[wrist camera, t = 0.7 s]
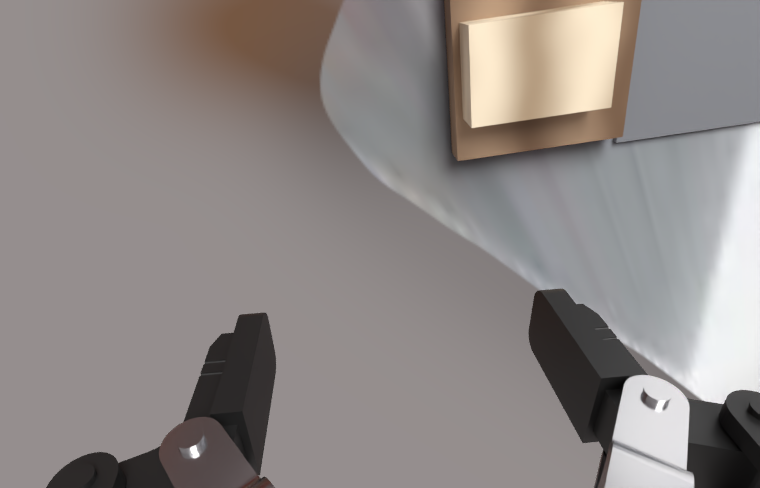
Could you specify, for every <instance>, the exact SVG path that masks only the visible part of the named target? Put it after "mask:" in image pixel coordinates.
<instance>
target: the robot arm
mask: <svg viewBox="0 0 760 488" xmlns="http://www.w3.org/2000/svg"><path fill="white" fill-rule="evenodd" d="M529 342H530V345H531V349H532V351H533V353H534V355H535V357H536V358H537V360H538V362H539V364H540V366H541V368H542V369H543V371H544V373H545V375H546V377H547V379H548V380H549V382H550V384H551V386H552V388H553V389H554V391H555V393H556V395H557V397H558V399H559V400H560V402H561V404H562V406H563V408H564V409H565V411H566V413H567V415H568V417H569V419H570V420H571V422H572V424H573V426H574V427H575V430H576V431H577V433H578V435H579V437H580V439H581V441H582V442H583V443H588V442H598V441H599V442H600V444H601V446H602V448H603V452H602V455H601V459H600V463H599V468H598V472H597V476H596V480H595V485H594V488H760V393H758V392H754V391H748V390H739V391H734V392H732V393H730V394H729V395H728V396H727V398H726V400H725V402H724V404H718V403H711V402H705V401H699V400H692V399H688V398H686V397H685V396H684V394H683V393H682V392H681V391H680V390H679V389H678V388H676V387H675V386H674V385H672V384H671V383H669V382H667V381H665V380H663V379H660V378H657V377H654V376H649V375H647V374H646V372H645V371H644V370H643V369H642V367H641V366H640V365H639V364H638V362H637V361H636V360H635V359H634V357H633V356H632V355H631V354H630V353H629V352H628V350H627V349H626V348H625V346H624V345H623V344H622V343H621V342H620V340H619V339H617V338H616V335H615V334H614V333H613V332H612V330H611V329H609V328H608V326H607V324H606V323H605V322H604V321H603V319H602V318H601V317H600V316H599V314H597V313H596V312H594V311H593V310H591V309H590V308H588V307H587V306H585V305H584V304H575V302H574V301H573V300H572V298H571V297H570V296H569V294H568V293H567V292H566V291H565V290H564V289H552V290H540V291H537V292H536V293H535V296H534V301H533V308H532V314H531V320H530V326H529ZM275 373H276V356H275V350H274V345H273V340H272V335H271V330H270V325H269V320H268V316H267V314H266V313H255V314H242V315H239V317H238V320H237V323H236V327H235V330H234V333H226V334H221V335H220V336H219V338H217V340H216V341H215V342H214V343H213V344H212V345H211V346H210V348H209V351H208V354H207V356H206V359H205V364H204V365H203V368H202V371H201V376H200V377H199V380H198V383H197V385H196V388H195V391H194V394H193V397H192V399H191V402H190V405H189V408H188V411H187V414H186V417H185V420H184V422H183V423H181V424H179V425H177V426H176V427H175V428H173V429H172V430H171V431H170V432H169V433H168V434H167V435H166V437H165V438H164V440H163V441H162V443H161V446H160V447H158V448H156V449H155V450H152V451H149V452H147V453H144V454H142V455H139V456H136V457H133V458H131V459H128V460H125V461H122V462H120V463H118V462H117V460H116V458H115V457H114V456H113V455H111V454H108V453H103V452H97V453H91V454H87V455H84V456H82V457H80V458H77V459H76V460H74V461H72V462H70V463H69V464H67V465H66V466H65V467H63V468H62V469H61V470H60V471H59V472H58V473H57V474H56V475H55V476H54V477H53V479H52V480H51V481H50V482H49V484H48V486H47V487H46V488H275V487H274V486H273V484H272V483H271V482H270V481H269V480H268V479H267V478H266V477H263V478H260V477H259V476H258V475H260V470H261V464H262V458H263V451H264V445H265V438H266V432H267V425H268V418H269V412H270V406H271V399H272V393H273V386H274V380H275Z"/></svg>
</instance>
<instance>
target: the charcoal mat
mask: <svg viewBox="0 0 760 488" xmlns="http://www.w3.org/2000/svg"><path fill="white" fill-rule="evenodd" d="M755 122H760V0H642V1H641V9H640V16H639V23H638V30H637V38H636V45H635V52H634V59H633V67H632V74H631V81H630V88H629V96H628V103H627V110H626V117H625V125H624V132H623V137H619V138H614V142H616V143H619V142H626V141H633V140H639V139H646V138H653V137H660V136H667V135H674V134H680V133H687V132H694V131H701V130H708V129H714V128H721V127H728V126H735V125H742V124H748V123H755Z"/></svg>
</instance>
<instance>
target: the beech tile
mask: <svg viewBox="0 0 760 488" xmlns="http://www.w3.org/2000/svg"><path fill="white" fill-rule="evenodd" d="M623 6H624V2H609V1H601V2H594V3H587V4H581V5H574V6H567V7H561V8H554V9H547V10H540V11H534V12H527V13H520V14H514V15H507V16H500V17H493V18H487V19H480V20H473V21H467V22H460V23H459V30H460V56H461V82H462V107H463V119H464V120H465V121H466V122H467V124H468V125H469V126H470V127H471V128H476V127H483V126H489V125H496V124H503V123H510V122H517V121H523V120H530V119H537V118H544V117H551V116H557V115H564V114H571V113H578V112H584V111H591V110H598V109H605V108H611V105H612V97H613V89H614V80H615V72H616V64H617V55H618V47H619V39H620V31H621V22H622V14H623Z"/></svg>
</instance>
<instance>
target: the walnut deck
mask: <svg viewBox="0 0 760 488" xmlns="http://www.w3.org/2000/svg"><path fill="white" fill-rule="evenodd" d="M601 1H609V2H624V6H623V14H622V22H621V31H620V39H619V47H618V55H617V64H616V72H615V80H614V89H613V97H612V105H611V108H605V109H598V110H591V111H584V112H578V113H571V114H564V115H557V116H551V117H544V118H537V119H530V120H523V121H517V122H510V123H503V124H496V125H489V126H483V127H476V128H471V127H470V126H469V125H468V124H467V122H466V121H465V120H464V119H463V107H462V82H461V56H460V30H459V23H460V22H467V21H473V20H480V19H487V18H493V17H500V16H507V15H514V14H520V13H527V12H534V11H540V10H547V9H554V8H561V7H567V6H574V5H581V4H587V3H594V2H601ZM641 1H642V0H444V10H445V29H446V48H447V67H448V86H449V105H450V124H451V142H452V153H453V155H454V156H455V158H456V159H457V161H462V160H469V159H476V158H482V157H489V156H496V155H503V154H510V153H516V152H523V151H530V150H537V149H544V148H550V147H557V146H564V145H571V144H578V143H584V142H591V141H598V140H605V139H612V138H619V137H623V132H624V125H625V117H626V110H627V103H628V96H629V88H630V81H631V74H632V67H633V59H634V52H635V45H636V38H637V30H638V23H639V16H640V9H641Z"/></svg>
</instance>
